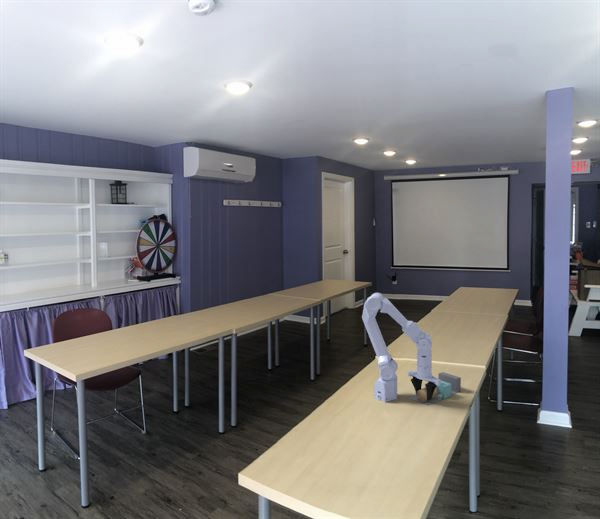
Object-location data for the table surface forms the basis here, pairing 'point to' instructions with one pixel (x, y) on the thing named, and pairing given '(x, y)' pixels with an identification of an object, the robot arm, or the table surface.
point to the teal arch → (444, 389)
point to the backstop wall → (451, 381)
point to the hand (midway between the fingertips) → (424, 397)
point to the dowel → (425, 394)
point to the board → (431, 399)
